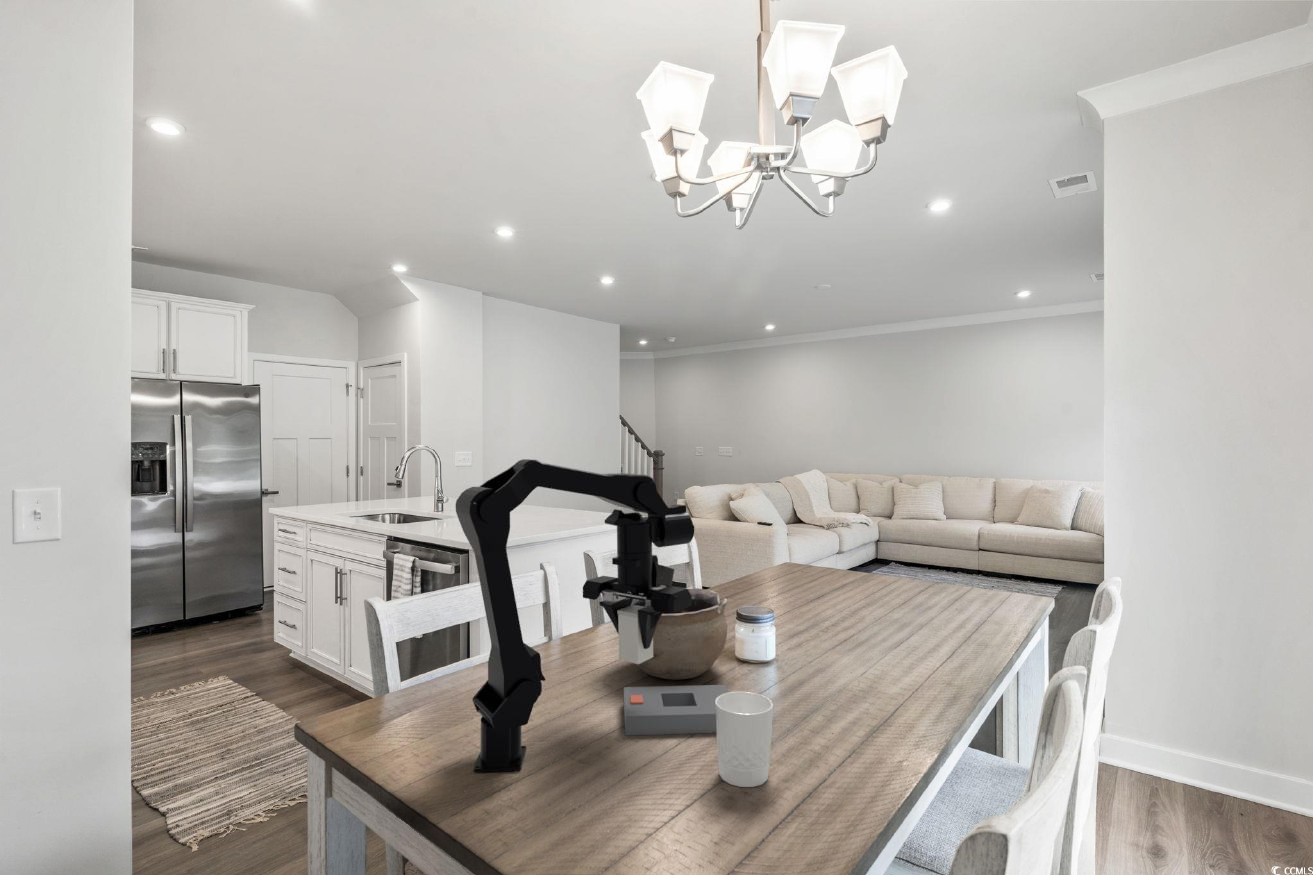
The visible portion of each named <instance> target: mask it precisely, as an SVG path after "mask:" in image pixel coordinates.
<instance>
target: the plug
mask: <svg viewBox="0 0 1313 875" xmlns="http://www.w3.org/2000/svg"><path fill="white" fill-rule="evenodd" d="M642 608H644V607H643V606H638V605H631V606H628V607H626V608H623V609H620V610H617V614H618V628H619V635H618V660H619V661H623V662H627V663H632V664H635V665H636V664H640V663H642V662H644V661H646V660H648V659H650V658H653V638H652V641H651V644H650V647H649V648H648V649H644V647H643V643H642V638H641V631H640V624H639V618H638V610H639V609H642Z"/></svg>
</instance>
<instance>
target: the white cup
mask: <svg viewBox="0 0 1313 875" xmlns="http://www.w3.org/2000/svg"><path fill="white" fill-rule="evenodd" d="M773 706H774V705H773V701H772V700H771V699H769V698H768V697H767V696H764V695H762V694H760V693H756V692H751V691H750V692H749V691H729V693H725V694H722V695H720V696H718V697H717V698H716V700H715V710H716V733H715V734H716V746H717V747H716V748H717V750H716V751H717V756H718V758H717V759H718V774H719V776H720V777H721V780H722V781H724V782H726V783H727V784H729V785H732V786H735V787H740V788H754V787H757V786H758V787H759V786H762V785H764V783H766V782H767V781H768V778H769V764H770V758H771V747H772V745H771V744H772V742H771V741H772V733H773V732H772V729H773V728H772V727H773V712H774V711H773V710H774V707H773Z"/></svg>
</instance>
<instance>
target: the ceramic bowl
mask: <svg viewBox="0 0 1313 875" xmlns="http://www.w3.org/2000/svg"><path fill="white" fill-rule="evenodd" d="M662 588H663V587H661V588H660V587H657V588H656V587H654V588H653V590H660V589H662ZM687 589H688V590H689V592H690V593H691V595H692V606H690V607H687V608H685V609H683V610H680V611H678V612H675V613H663V614H662V615H661V617H660V619H659V621H658V624H657V627H656V629H655V632H654V635H653V658H650V659H648V660H646V661H644V662H642V663H640V664H635V665H637V667H638V668H639V669H640V670H642V671H643V672H644V673H646V674H648V675H650V676H653V677H655V678H658V679H663V680H674V681H675V680H686V679H693V678H696V677H698V676H701V675H703V674H704V673H705V672H706V671H708V670H709V669H711V668H712V667H713V665H714V664H715V662H716V661H717V660H718V658H720V656H721V654H722V653H723V651H724V650H725V646H726V644H727V637H728V622H727V618H726V615H725V609H726V606H727V601H728V599H727V598H722V599H720V593H719V592H717V591H714V590H712V589H711V590H710V589H704V588H687ZM639 594H640V593H639ZM642 595H644V594H643V593H642ZM645 604H646V601H643V600H637V599H633V601H632V604H631V605H638V606H643V607H645Z"/></svg>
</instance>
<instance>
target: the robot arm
mask: <svg viewBox="0 0 1313 875" xmlns="http://www.w3.org/2000/svg"><path fill="white" fill-rule="evenodd" d="M537 488H544V489H551V490H556V491H563V492H568V493H574V494H580V495H581V494H582V495H587V496H593V497H595V498H598V499H599V500H602V501H604V502H605V503H608V504H612V505H614V506H617V507H620V508H623V509H624V508H625V509H629V510H632V511H634V512H628V513H627V512H625V513H624V512H623V510H621V509H617V508H615V509H613V511H612V512H611V514H609V516H608V517H606V518H605V519H604V522H603V523H604V524H606V525H609V526H616V548H617V549H616V550H617V551H616V553H617V554H616V555H617V556H616V557H612V558H611V559H612V561H611V562H612V565H615V566H617V567H616V568H617V577H616V576H615V577H614V576H608V575H607V576H606V575H601V576H598V577H593V578H590V579H587V580H585V582H584V584H583V585H582V598H583V599H589V600H593V601H595V600H597V599H598V598H599V597H600V596H601V601H599V603H598V604H599V607H603V609H604V611H605V613H606V615H607V616H608V618H609V619H610V621H611V623H612V625H613V627H614V629H615V631H616V632H617V634H618V636H619V628H618V614H617V610H620V609H623V608H626V607H628V606H631V604H632V601H633V599H637V600H643V601H646V604H645V607H644V608H642V609H639V610H638V618H639V624H640V631H641V638H642V643H643V647H644V649H648V648H649V647H650V644H651V641H652V638H653V635H654V632H655V629H656V627H657V624H658V621H659V619H660V617H661V615H662V614H663V613H675V612H678V611H680V610H683V609H685V608H687V607H690V606H692V595H691V593H690V592H689V590H688V589H689V588H687V587H680V586H674V585H673V580H674V579H673V578H674V574H675V569H674V568H672V567H668V566H666V565H662V564H659V559H658V556H657V555H656V554H653V545H654V546H655V547H656V548H663V547H664V548H665V547H671V546H673V547H674V546H680V545H688V544H689V543H691V542H692V540H693V538H694V536H695V524H694V523H693V520H692V517H691V516H690V514H689V513H688V512H687V505H685V504H672V505H670V506H668V505H667V504H666V503H665V501H664V499H663V498H662V497H661V495H660V493H659V491H658V488H657V485H656V483H655V481H654V478H653V477H652V476H649V475H647V474H638V473H637V474H636V473H620V472H619V473H599V472H594V471H593V472H592V471H589V470H583V469H577V468H572V467H567V466H561V465H556V464H550V463H546V462H542V461H540V460H538V459H529V458H528V459H526V458H524V459H523V458H522V459H520V460H518V461H517V462H515V464H513V465H512V466H510V467H509V468H507V469H506V470H504V471H502V472H500V473H499V474H496V475H495V476H493V477H491V478H490V479H488V480H486V481H484V483H482V484H480V485H479V486H471V487H469V488H466V489H465V490H464V491H463V492H461V494H460V495H459V496H458V498H457V499H456V501H455V513H456V516H457V519H458V522H459V523H460V527H461V529H462V531H463V533H464V536H465V537H466V540H467V541H468V543H469V545H470V547H471V549H472V551H473V553H474V558H475V563H476V569H477V574H478V579H479V584H480V589H481V596H482V601H483V606H484V607H483V608H484V612H485V617H486V623H487V627H488V634H489V638H490V639H489V640H490V652H489V656H488V660H487V680H486V681H485V683H484V684H482V686H481V688H479V690H478V691H477V692H476V693H475V694H474V696H473V697H472V704H473V705H474V708H475V711H476V713H479V714H480V715H481V717H480V752H479V755H478V757H477V758H476V762H475V763H474V766H473V772H475V773H483V772H484V773H487V772H490V773H491V772H514V771H515V772H517V771H520V770H521V769H522V768H523V767H522V766H523V763H524V759H525V757H526V753H527V746H526V745H522V727H523V726H525V725H528V723H529V721H530V718H531V714H532V711H533V708H534V705H535V704H536V702H537V701H538V699H539V697H540V696H541V695H542V692H543V687H542V686H543V684H542V682H544V681H546V678H545V676H544V675H543V671H542V658H541V654H540V652H538V651H537V650H535V649H534V648H533V647H530V646H529V644H526V643H525V642H524V640H523V634H522V628H521V623H520V619H519V618H520V617H519V613H518V612H519V611H518V607H517V601H516V595H515V590H514V584H513V580H512V572H511V567H510V562H509V557H508V551H507V546H508V545H507V544H508V540H509V537H510V532H511V531H510V530H511V512H512V511H514V510H516V508H517V507H519V506H520V505H522V503H524V501H525V500H526V499H527V498H528V497H529V495H530V494H531V493H532V492H533V491H534V490H536V489H537ZM641 513H642V514H647V516H643V515H642V514H641ZM661 586H664V587H661ZM660 587H661V588H662V589H660V590H653V588H660ZM639 593H640V594H639ZM642 593H643V594H644V595H642Z"/></svg>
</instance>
